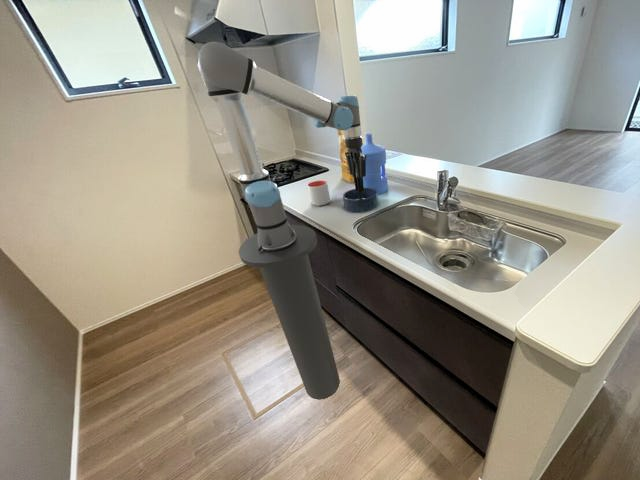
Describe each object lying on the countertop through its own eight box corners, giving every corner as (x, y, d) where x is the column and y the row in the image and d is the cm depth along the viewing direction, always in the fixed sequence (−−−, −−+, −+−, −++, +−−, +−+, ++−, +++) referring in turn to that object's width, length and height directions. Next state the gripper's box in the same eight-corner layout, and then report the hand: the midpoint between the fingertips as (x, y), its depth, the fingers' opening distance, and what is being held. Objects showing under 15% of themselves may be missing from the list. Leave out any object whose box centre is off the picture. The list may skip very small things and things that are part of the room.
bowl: (358, 215, 136) (356, 203, 132) (337, 206, 147) (336, 195, 143) (385, 204, 143) (384, 192, 140) (364, 196, 154) (362, 185, 151)
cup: (318, 198, 159) (314, 179, 153) (334, 200, 155) (331, 180, 149) (307, 205, 152) (303, 186, 146) (323, 207, 148) (319, 187, 142)
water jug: (364, 198, 153) (358, 139, 136) (355, 189, 165) (348, 134, 149) (392, 192, 156) (389, 134, 140) (382, 183, 168) (378, 129, 152)
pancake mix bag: (348, 175, 188) (341, 126, 172) (362, 181, 174) (357, 129, 158) (338, 177, 186) (331, 128, 170) (352, 184, 172) (346, 131, 156)
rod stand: (360, 207, 141) (355, 170, 131) (352, 204, 145) (347, 168, 135) (370, 203, 144) (366, 166, 134) (362, 200, 148) (358, 164, 138)
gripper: (370, 136, 124) (375, 191, 138) (350, 134, 134) (356, 185, 147) (356, 140, 121) (362, 196, 134) (336, 137, 130) (344, 190, 144)
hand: (359, 190), depth 141 cm, fingers closed on rod stand, 2 cm apart
